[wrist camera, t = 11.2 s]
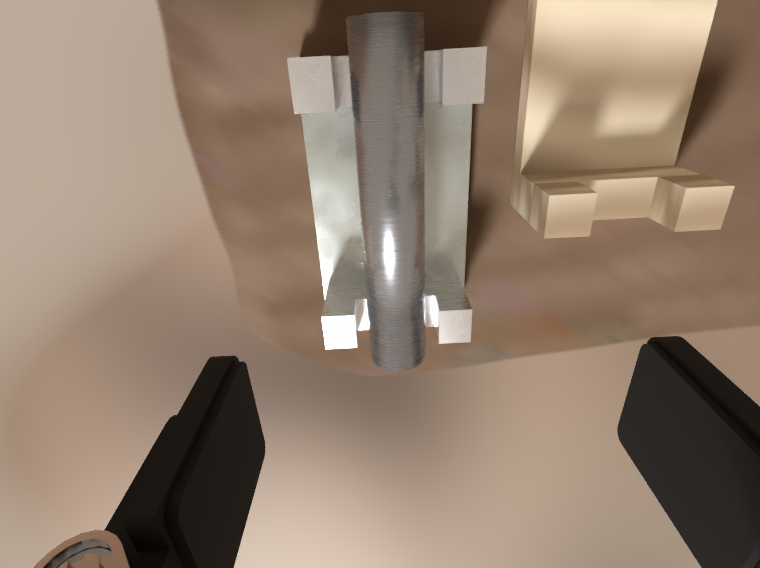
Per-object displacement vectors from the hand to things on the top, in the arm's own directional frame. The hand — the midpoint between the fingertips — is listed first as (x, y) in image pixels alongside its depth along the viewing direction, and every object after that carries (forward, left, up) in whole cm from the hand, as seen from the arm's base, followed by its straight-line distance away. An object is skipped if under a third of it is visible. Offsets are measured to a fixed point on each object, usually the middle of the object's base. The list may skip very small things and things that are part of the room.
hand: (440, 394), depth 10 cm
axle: (0, -1, -15) cm, 15 cm away
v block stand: (+1, -1, -20) cm, 20 cm away
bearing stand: (-6, +12, -20) cm, 25 cm away
